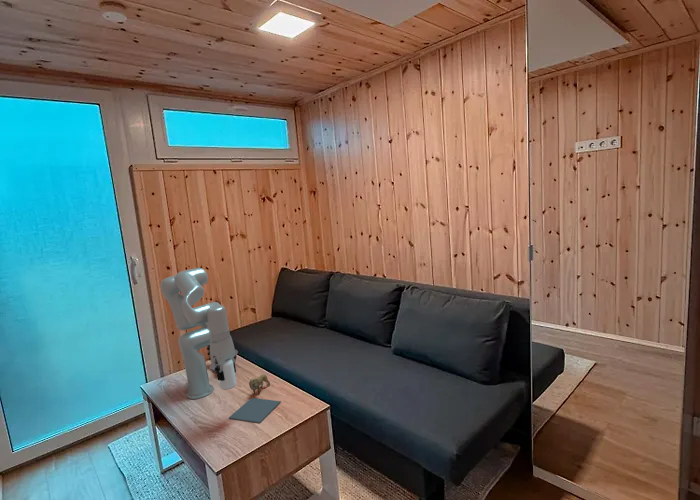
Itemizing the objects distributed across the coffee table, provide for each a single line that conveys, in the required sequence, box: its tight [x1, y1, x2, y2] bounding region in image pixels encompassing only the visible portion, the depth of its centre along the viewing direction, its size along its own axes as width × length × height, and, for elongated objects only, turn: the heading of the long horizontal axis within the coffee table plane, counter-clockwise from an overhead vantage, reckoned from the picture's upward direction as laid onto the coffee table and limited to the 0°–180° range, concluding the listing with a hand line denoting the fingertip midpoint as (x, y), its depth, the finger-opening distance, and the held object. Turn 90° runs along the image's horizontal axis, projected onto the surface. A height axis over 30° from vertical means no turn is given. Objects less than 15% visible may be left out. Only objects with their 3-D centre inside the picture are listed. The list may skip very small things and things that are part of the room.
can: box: [218, 359, 237, 391], centre depth 160 cm, size 6×6×12 cm
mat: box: [228, 397, 282, 424], centre depth 167 cm, size 16×16×1 cm
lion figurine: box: [248, 374, 271, 396], centre depth 184 cm, size 15×5×9 cm, turn 166°
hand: (227, 375), depth 160 cm, fingers closed on can, 6 cm apart
